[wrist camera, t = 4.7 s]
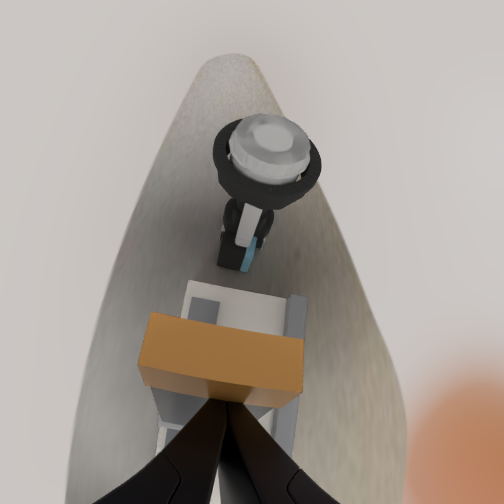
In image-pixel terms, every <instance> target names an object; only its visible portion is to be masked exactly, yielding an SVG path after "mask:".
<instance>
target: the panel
mask: <svg viewBox="0 0 504 504" xmlns="http://www.w3.org/2000/svg"><path fill="white" fill-rule="evenodd" d="M307 300H308V297H305V296H299V295H294V294H291V295H290V296H289V297H288V298H287V299H286V298H281V297H275V296H270V295H264V294H259V293H253V292H248V291H243V290H238V289H232V288H227V287H222V286H217V285H212V284H207V283H202V282H197V281H192V280H188V284H187V289H186V293H185V298H184V302H183V307H182V312H181V316H180V318H184V319H189V320H194V321H199V322H204V323H209V324H214V325H219V326H225V327H230V328H236V329H241V330H247V331H253V332H259V333H265V334H271V335H278V336H284V337H291V338H298V339H304V340H305V327H306V314H307ZM298 401H299V395H298V396H297V397H296V398H294V399H293V400H292V401H290V402H289V403H288V404H286V405H285V406H283V407H282V408H273V409H272V410H270V411H269V412H268V413H266V414H265V415H264V416H262V417H261V418H260V419H259V420H258V422H259V423H260V424H261V425H262V426H263V427H264V428H265V430H266V431H267V432H268V433H269V434H270V435H271V436H272V438H273V439H274V440H275V441H276V442H277V443H278V444H279V445H280V447H281V448H282V449H283V450H284V451H285V452H286V453H287V454H288V455H289V456H290V458H292V450H293V443H294V435H295V427H296V419H297V410H298ZM179 431H180V430H175V429H170V428H165V427H161V426H160V428H159V435H158V441H157V447H156V454H155V456H156V455H157V454H158V453H159V452H161V450H162V449H163V448H164V447H165V446H166V445H167V444H168V443H169V442H170V441H171V440H172V439H173V438H174V437H175V435H176V434H177V433H178V432H179ZM210 504H221V500H220V489H219V478H218V468H217V473H216V477H215V482H214V486H213V491H212V495H211V500H210Z"/></svg>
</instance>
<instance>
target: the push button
mask: <svg viewBox="0 0 504 504" xmlns="http://www.w3.org/2000/svg"><path fill="white" fill-rule="evenodd" d="M230 152H231V156H230V161H229V159H228V157H227V155H228V154H229V153H230ZM213 160H214V163H215V166H216V168H217V170H218V179H219V183H220V185H221V186H222V187H223V188H224V189H225V191H226V192H227V193H228V194H229V195H230V196H231V197H233V198H231V199H230V200H229V201H228V203H227V204H226V207H225V212H224V217H223V225H222V228H221V233H220V238H219V241H220V239H221V236H222V232H224V236H223V239H222V243H221V247H220V252H219V257H218V262H217V266H221V267H225V268H229V269H233V270H238V271H242V272H246V273H247V272H248V270H249V266H250V264H251V261H252V259H253V256H254V251H255V247H256V248H260V251H261V250H262V248H263V246H264V243H265V239H266V236H267V234H268V233H269V231H270V228H271V226H272V224H273V221H274V212H273V210H279V209H282V208H284V207H286V206H287V205H289V204H291V203H293V202H295V201H296V200H298V199H300V198H302V197H303V196H304V195H305V193H307V192H308V191H309V190H310V189H311V188H312V187H313V186H314V185H315V183H316V181H317V180H318V177H319V176H320V172H321V158H320V155H319V152H318V150H317V148H316V147H315V145H314V144H313V143H312V141H311V140H310V139H309V138H308V136H307V134H306V133H305V132H304V131H303V130H302V129H301V127H300V126H299V125H297V124H296V123H294V122H292V121H290V120H289V119H287V118H284V117H281V116H279V115H273V114H261V113H260V114H254V115H252V116H249V117H246V118H243V119H239V120H236V121H234V122H231V123H230V124H228V125H226V126H225V127H224V128H223V129H221V131H220V132H219V133H218V135H217V136H216V138H215V141H214V146H213ZM300 173H301V179H300V180H299V181H297V182H296V179H297V177H298V175H299V174H300Z"/></svg>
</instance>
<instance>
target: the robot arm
mask: <svg viewBox="0 0 504 504" xmlns="http://www.w3.org/2000/svg"><path fill="white" fill-rule="evenodd" d="M217 468H218V478H219V489H220V500H221V504H340V503H339V502H337V501H336V500H335V499H334V498H332V497H331V496H330V495H329V494H328V493H326V492H325V491H324V490H323V489H322V488H320V487H319V486H318V485H317V484H316V483H315V482H314V481H313V480H312V479H311V478H310V477H309V476H308V475H307V474H306V473H305V472H304V471H303V470H302V469H300V467H299V466H298V465H297V464H296V463H295V462H294V461H293V460H292V459H291V458H290V456H289V455H288V454H287V453H286V452H285V451H284V450H283V449H282V448H281V447H280V445H279V444H278V443H277V442H276V441H275V440H274V439H273V438H272V436H271V435H270V434H269V433H268V432H267V431H266V430H265V428H264V427H263V426H262V425H261V424H260V423H259V422H258V420H257V419H256V418H255V417H254V416H253V414H252V413H251V412H250V411H249V410H248V408H247V407H246V406H245V405H244V404H243V403H239V402H232V401H225V400H219V399H213V398H209V399H208V400H207V401H206V402H205V404H204V405H203V406H202V407H201V408H200V409H199V410H198V411H197V412H196V414H195V415H194V416H193V417H192V418H191V419H190V420H189V421H188V422H187V423H186V425H185V426H184V427H183V428H182V429H181V430H180V431H179V432H178V433H177V434H176V435H175V437H174V438H173V439H172V440H171V441H170V442H169V443H168V444H167V445H166V446H165V447H164V448H163V449H162V450H161V452H159V453H158V454H157V455H156V456H155V457H154V458H153V459H152V460H151V461H150V462H149V463H148V464H147V465H146V466H145V467H144V468H143V469H141V470H140V471H139V472H138V473H136V474H135V475H134V476H132V477H131V478H130V479H128V480H127V481H126V482H124V483H123V484H121V485H120V486H118V487H117V488H115V489H114V490H112V491H111V492H109V493H108V494H106V495H105V496H103V497H102V498H100V499H99V500H97V501H96V502H94V503H93V504H210V500H211V495H212V491H213V486H214V482H215V477H216V473H217Z"/></svg>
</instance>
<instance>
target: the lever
mask: <svg viewBox="0 0 504 504" xmlns="http://www.w3.org/2000/svg"><path fill="white" fill-rule="evenodd" d="M303 358H304V339H298V338H291V337H284V336H278V335H271V334H265V333H259V332H253V331H247V330H241V329H236V328H230V327H225V326H219V325H214V324H209V323H204V322H199V321H194V320H189V319H184V318H179V317H175V316H170V315H165V314H161V313H156V312H151V315H150V319H149V323H148V326H147V330H146V334H145V337H144V341H143V345H142V349H141V352H140V356H139V360H138V367H139V370H140V373H141V376H142V378H143V381H144V384H145V385H146V386H150V387H151V390H152V393H153V396H154V399H155V402H156V405H157V408H158V411H159V414H158V426H161V427H165V428H170V429H175V430H181V429H182V428H183V427H184V426H185V425H186V423H187V422H188V421H189V420H190V419H191V418H192V417H193V416H194V415H195V414H196V412H197V411H198V410H199V409H200V408H201V407H202V406H203V405H204V404H205V402H206V401H207V400H208V399H209V398H213V399H219V400H225V401H232V402H239V403H243V404H244V405H245V406H246V407H247V408H248V410H249V411H250V412H251V413H252V414H253V416H254V417H255V418H256V419H257V420H259V419H260V418H261V417H262V416H264V415H265V414H266V413H268V412H269V411H270V410H272V409H273V408H282V407H283V406H285V405H286V404H288V403H289V402H290V401H292V400H293V399H294V398H296V397H297V396H298V395H300V394H301V393H302V392H303Z"/></svg>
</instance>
